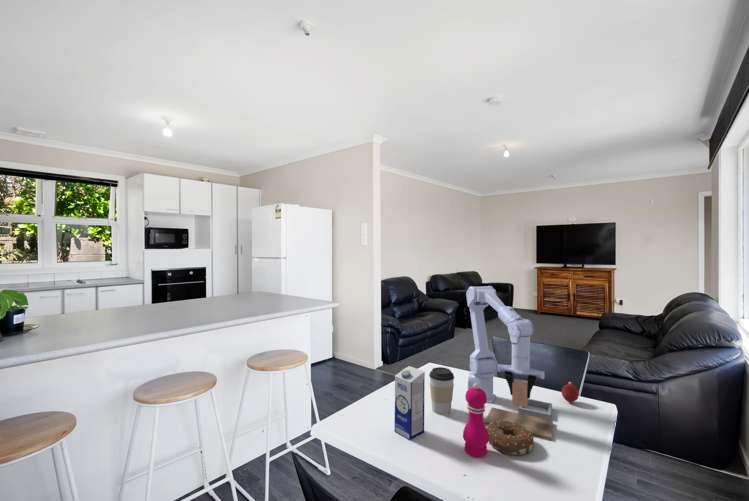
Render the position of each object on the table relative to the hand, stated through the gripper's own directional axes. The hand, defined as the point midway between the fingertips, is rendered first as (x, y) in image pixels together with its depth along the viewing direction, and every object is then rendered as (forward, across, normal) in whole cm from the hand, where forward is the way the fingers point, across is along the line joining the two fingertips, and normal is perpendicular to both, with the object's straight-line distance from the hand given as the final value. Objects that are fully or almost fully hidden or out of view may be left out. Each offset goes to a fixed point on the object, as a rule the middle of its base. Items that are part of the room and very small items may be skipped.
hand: (520, 395), depth 118 cm
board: (+9, 0, -1) cm, 9 cm away
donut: (+10, -2, -16) cm, 19 cm away
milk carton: (+10, -30, -24) cm, 40 cm away
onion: (+10, +15, +27) cm, 32 cm away
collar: (+9, +4, +13) cm, 16 cm away
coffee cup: (+10, -26, -4) cm, 28 cm away
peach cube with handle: (+2, 0, 0) cm, 3 cm away
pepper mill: (+10, -9, -24) cm, 28 cm away
